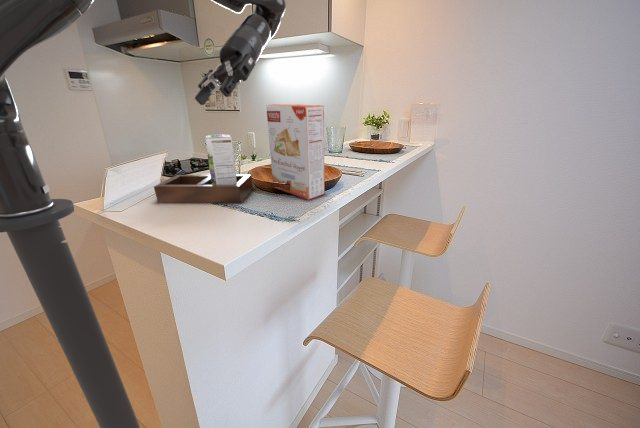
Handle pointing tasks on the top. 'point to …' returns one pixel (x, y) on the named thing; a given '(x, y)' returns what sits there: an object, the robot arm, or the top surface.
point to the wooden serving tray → (202, 190)
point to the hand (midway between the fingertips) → (210, 97)
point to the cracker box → (297, 148)
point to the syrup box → (221, 159)
